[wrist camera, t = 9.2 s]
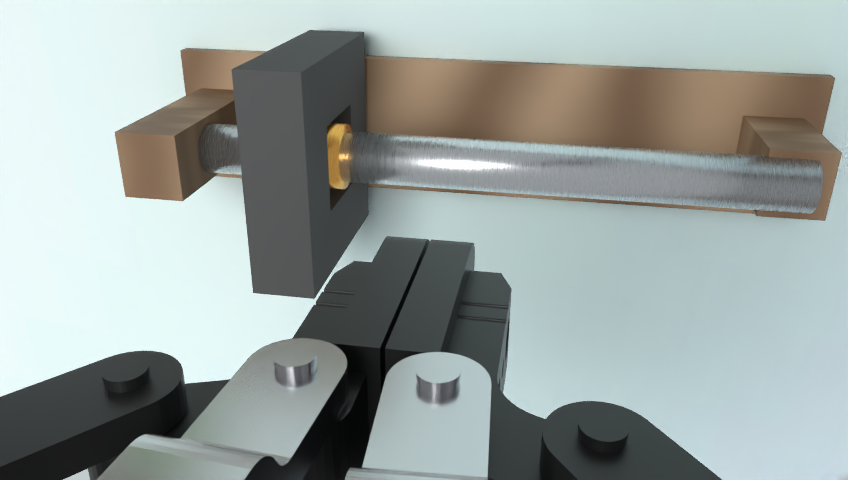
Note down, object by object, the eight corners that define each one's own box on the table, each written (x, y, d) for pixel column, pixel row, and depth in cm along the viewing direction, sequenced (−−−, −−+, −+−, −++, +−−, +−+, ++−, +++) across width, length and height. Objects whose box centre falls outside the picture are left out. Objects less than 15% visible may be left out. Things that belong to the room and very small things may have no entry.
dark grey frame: (364, 32, 32) (300, 72, 24) (368, 214, 36) (314, 298, 28) (310, 30, 32) (231, 69, 25) (319, 210, 36) (253, 292, 28)
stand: (830, 75, 31) (910, 128, 23) (798, 211, 33) (862, 297, 26) (186, 48, 35) (87, 86, 28) (201, 170, 37) (113, 234, 30)
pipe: (810, 141, 28) (832, 163, 26) (795, 206, 29) (815, 233, 27) (181, 106, 32) (150, 123, 29) (188, 165, 33) (159, 185, 31)
